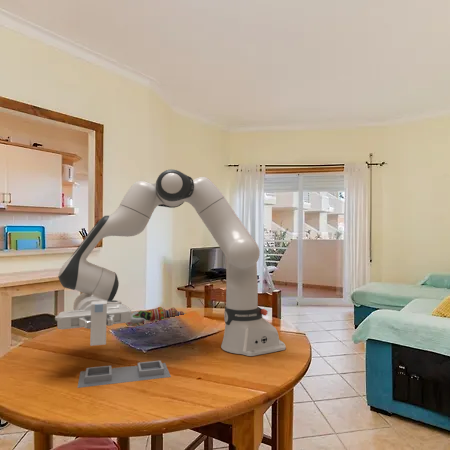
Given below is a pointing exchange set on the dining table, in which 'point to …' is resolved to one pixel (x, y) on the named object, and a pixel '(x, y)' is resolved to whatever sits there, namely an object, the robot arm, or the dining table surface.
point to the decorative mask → (152, 315)
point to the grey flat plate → (122, 374)
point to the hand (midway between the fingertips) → (99, 323)
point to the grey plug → (98, 323)
